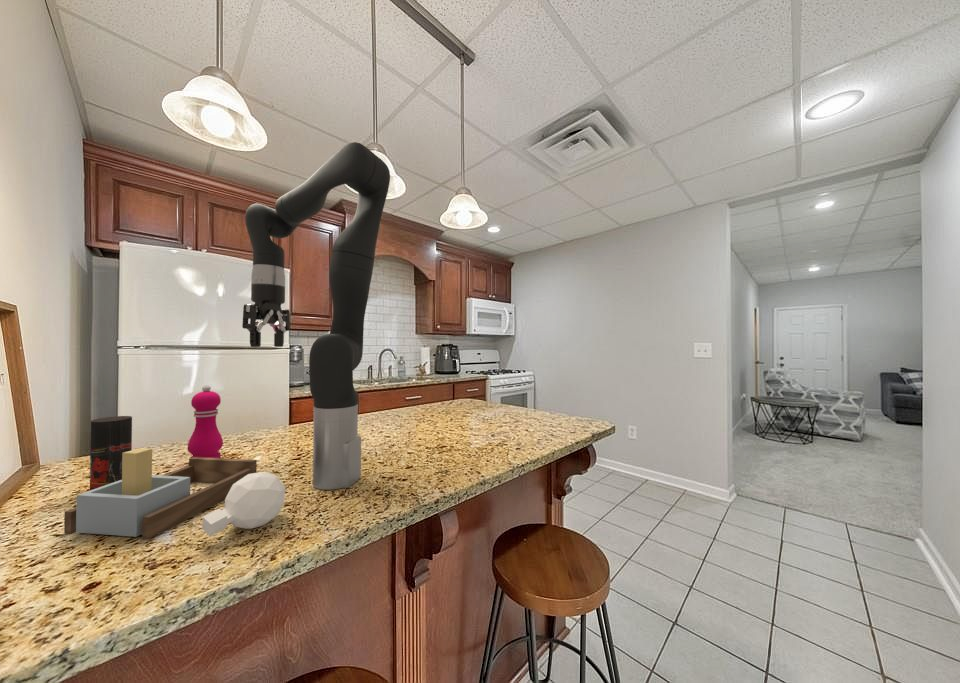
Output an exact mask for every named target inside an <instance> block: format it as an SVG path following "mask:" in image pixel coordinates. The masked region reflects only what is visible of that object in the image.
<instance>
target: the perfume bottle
mask: <svg viewBox="0 0 960 683" xmlns="http://www.w3.org/2000/svg"><path fill="white" fill-rule="evenodd" d="M285 495H286V485H285V484H284V483H283V482H282V481H281V479H280V478H279V477H278V476H277V475H275V474H273V473H270V472H268V471H259V472H256V473H252V474H248V475H246V476H245V477H243V478H242V479H240V480H239V481H237V482H236V483H234V484H233V485H232V487H231V489H230V491H229V493H228V495H227V497H226V498H225V499H224V508H222V509H221V508H217V509H215V510H213V511H211V512H209V513H207V514H206V515H203V516H202V521H201V522H202V523H201V524H202V525H201V530H203V532H205V533H206V534H207V535H208V536H209V537H212V536H214V535H217V533H220V532H222V531H224V530H225V529H227V528H228V525H229V524H231V525H232V526H233V527H235V528H241V529H245V530H249V529H254V528H259V527H263V526H265V525H267V524H268V523H269V522H271V521H272V520H273V519H275V517H277V516H278V515H279V514H280V512H281V510H282V508H283V506H284V504H285V500H286V499H285V498H286V496H285Z"/></svg>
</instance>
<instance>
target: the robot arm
mask: <svg viewBox="0 0 960 683" xmlns="http://www.w3.org/2000/svg"><path fill="white" fill-rule="evenodd" d="M390 183H391V174H390V169H389V167H388V165H387V164H386V162H384V160H383V159H381V158H380V157H379V156H378V155H376V153H374V152H373V151H371V150H370V149H369V148H368V147H366V145H364V144H362V143H360V142H356V141H355V142H353V141H352V142H349V143H348V144H347V143H346V145H344V146H343V147H341V148H340V149H339V150H337V151H336V152H335V153H334V154H333V155H332V156H330V158H328V159H327V160H326V161H325V162H324V163H323V164H322V165H320V167H319V168H318V169H317V170H315V172H314V173H312V175H311V176H310V177H309V178H307V179H306V180H305V181H304V182H303V183H301V184H300V185H298V186H296V187H295V188H293V189H291V190H290V191H288V192H287V193H285V194H283V195H281V196H280V197H278V199H276V201H275V204H274V208H272V207H271V206H267V205H265V204H263V203H252V204H251V205H250V206H248V208H246V211H245V214H244V221H245V227H246V230H247V234H248V236H249V240H250V245H251V248H252V269H251V276H250V277H251V280H250V282H251V283H250V287H251V288H250V290H251V291H250V300H251V302H253V303H247V304H246V303H244V305H243V308H242V309H243V311H242V325H241V326H242V328H243V329H246V330H247V331H248V332H249V344H250V348H259V347H261V346H262V345H261V344H262V342H261V341H262V335H261V333H262V331H261V330H262V329H263V327H264V326H266V325H269V326H270V327H272V329H273V331H274V333H273V341H274V342H273V347H275V348H278V347H279V348H282V347H284V344H285V343H284V342H285V341H284V340H285V333H286V332H288V331H290V330H291V320H290V314H291V313H290V309H287V308H286V309H283V308H282V307H281V306H282V305H283V304H285V303H286V275H285V272H286V271H285V250H284V248H283V247H282V246H280V245H279V244H277V243H275V242H274V241H273V240H272V238H274V239H285V238H288V237H290V236H291V235H292V234H293V233H294V231H295V230H296V229H297V227H298V226H299V225H300V224H301V223H303V222H304V221H306V220H308V219H310V218H312V217H314V216H315V215H317V214H318V213H319V212H320V211H322V209H323V207H324V206H325V203H326V201H327V198H328V194H329V192H330V191H331V190H333V189H334V188H337V187H340V186H342V185H346V186H347V187H349V188H351V189H352V190H353V191H355V192H357V193H358V194H357V195H358V198H357V205H356V210H355V214H354V216H353V218H352V220H351V221H350V222H349V224H348V225H347V226H346V227H345V228H344V229H343V230H342V231H341V233H340V234H339V235H338V236H337V237H336V239H335V241H334V243H333V246H332V249H331V256H330V262H329V269H328V270H329V271H328V280H329V289H330V293H331V294H330V295H331V301H332V309H333V310H332V320H331V326H330V330H329V333H327V334H323V335H321V336H319V337H318V338H317V339H315V341H314V342H313V343H312V345H311V347H310V349H309V350H310V352H309V360H308V361H309V362H308V368H309V390H310V395H311V397H312V398H313V421H312V422H313V427H312V428H313V430H312V431H313V432H312V433H313V434H312V435H313V436H312V437H313V438H312V441H313V442H312V486H313V488H315V489H318V490H324V491H325V490H338V489H342V488H345V489H346V488H347V489H349V488H350V487H351V486H353V484H355V483H356V482H357V481H359V479H361V477H362V436H361V435H360V436H359V435H358V433H359V432H358V429H359V428H358V427H359V426H358V425H359V424H358V422H359V421H358V420H359V418H358V416H359V415H358V414H359V393H358V391H357V390H356V389H355V387H354V379H353V378H354V372H353V371H354V370H356V369H357V368H358V366H359V365H360V363H361V362H362V358H363V355H364V354H363V352H364V331H365V330H364V328H365V327H364V326H365V316H366V309H367V305H368V299H369V294H370V288H371V282H372V277H373V271H374V263H375V255H376V247H377V242H378V236H379V231H380V225H381V220H382V215H383V213H384V208H385V204H386V199H387V197H388V194H389V193H388V192H389V188H390ZM249 321H250V322H249ZM284 324H285V325H284Z"/></svg>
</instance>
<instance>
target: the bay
mask: <svg viewBox="0 0 960 683" xmlns="http://www.w3.org/2000/svg"><path fill="white" fill-rule="evenodd" d="M257 461H258V460H257V459H245V458H243V459H242V458H241V459H240V458H225V457H222V458H204V457H193V458H190V457H189V458H188V465H187V466H183V467H181V468H179V469H176V470H173V471H170V472H167V473H165V474H162V475H161V476H180V477H190V484H191V483H192V482H197V483H199V482H201V483H213V484H210V485H208V486H206V487H204V488H202V489H200V490H197V491H195V492H193V493H190V495H189V496H186V497H184V498H182V499H180V500H178V501H176V502H174V503H171V504H169V505H167V506H165V507H163V508H161V509H158V510H156V511H154V512H152V513H150V514H148V515H145V516H143V517H142V534H141V540H151V539H152V538H154V537H156V536H158V535H160V534H162V533H164V532H166V531H167V530H169V529H171V528H173V527H175V526H177V525H179V524H181V523H183V522H184V521H187V520H188V519H190V518H192V517H194V516H196V515H198V514H200V513H202V512H204V511H205V510H208V509H209V508H210V507H213V506H215V505H216V504H218V503H220V502H222V501H225V498H226V497H227V495H228V493H229V491H230V489H231V487H232V485H233V484H234V483H236V482H237V481H239V480H240V479H242V478H243V477H245V476H246V475H248V474H252V473H257ZM63 516H64V520H63V521H64V523H63V525H64V526H63V527H64V528H63V532H64V534H70V535H71V534H74V533H77V532H76V507H74V508H71V509H69V510H65V511H64V515H63Z"/></svg>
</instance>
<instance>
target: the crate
mask: <svg viewBox="0 0 960 683" xmlns="http://www.w3.org/2000/svg"><path fill="white" fill-rule="evenodd" d="M189 495H191V483H190V477H180V476H162V475H157V474H156V475H155V474H153V448H144V447H142V448H141V447H140V448H135V449H132V450H131V451H128V452H124V453H122V480H119V481H116V482H113V483H110V484H108V485H105V486H102V487H99V488H96V489H93V490H90V489H89V490H88V491H84V492H82V493H79V494H77V495H76V497H75V498H76V499H75V500H76V501H75V502H76V503H75V508H76V532H75V533H77V534H78V533H81V534H93V535H104V536H105V535H107V536H108V535H109V536H121V537H133V538H135V537H136V538H137V537H139V536H140V535H141V536H142V517H143V516H145V515H148V514H150V513H152V512H154V511H156V510H158V509H161V508H163V507H165V506H167V505H169V504H171V503H174V502H176V501H178V500H180V499H182V498H184V497H186V496H189Z"/></svg>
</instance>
